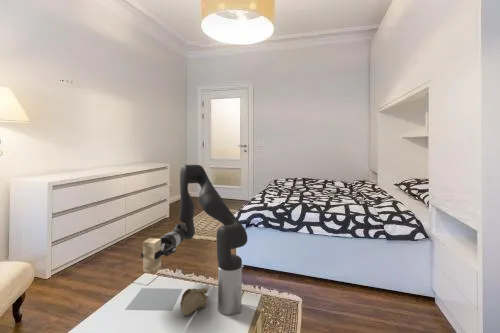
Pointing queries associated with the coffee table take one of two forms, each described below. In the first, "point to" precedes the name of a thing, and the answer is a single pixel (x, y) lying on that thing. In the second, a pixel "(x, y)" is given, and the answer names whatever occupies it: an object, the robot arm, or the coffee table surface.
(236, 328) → the coffee table surface
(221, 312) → the robot arm
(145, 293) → the slate mat
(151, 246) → the birch block
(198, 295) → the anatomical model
